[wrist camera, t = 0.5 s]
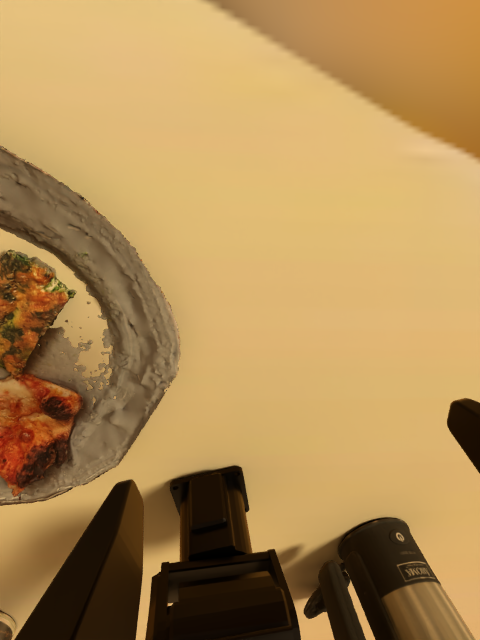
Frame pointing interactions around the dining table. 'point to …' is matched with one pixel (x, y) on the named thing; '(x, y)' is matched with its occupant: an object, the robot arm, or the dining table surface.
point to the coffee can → (6, 627)
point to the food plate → (48, 360)
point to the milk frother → (385, 589)
